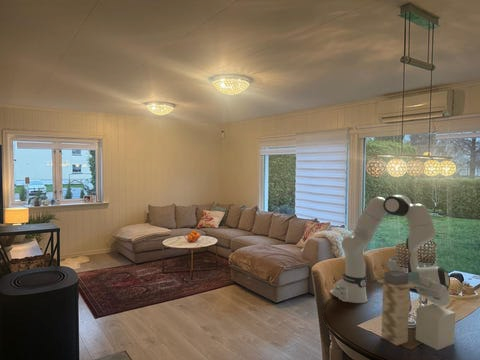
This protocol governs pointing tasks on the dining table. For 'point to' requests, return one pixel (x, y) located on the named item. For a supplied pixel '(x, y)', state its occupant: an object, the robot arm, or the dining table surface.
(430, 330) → the grey pedestal
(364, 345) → the dining table surface
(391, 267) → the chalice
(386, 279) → the grey boxy piece
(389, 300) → the beige pillar
